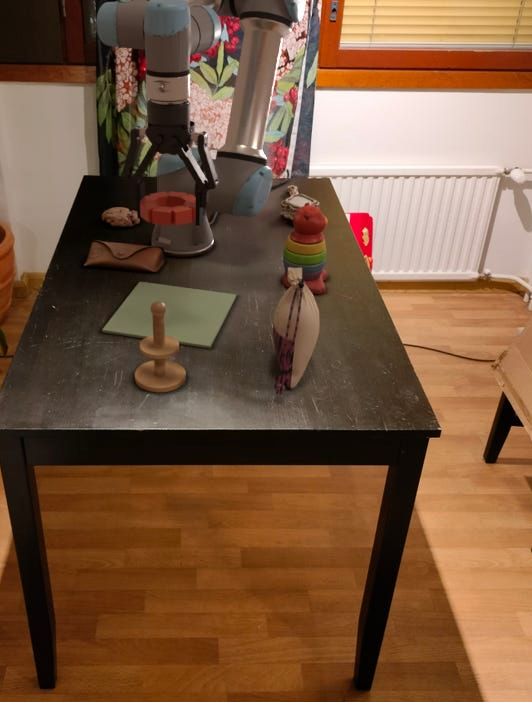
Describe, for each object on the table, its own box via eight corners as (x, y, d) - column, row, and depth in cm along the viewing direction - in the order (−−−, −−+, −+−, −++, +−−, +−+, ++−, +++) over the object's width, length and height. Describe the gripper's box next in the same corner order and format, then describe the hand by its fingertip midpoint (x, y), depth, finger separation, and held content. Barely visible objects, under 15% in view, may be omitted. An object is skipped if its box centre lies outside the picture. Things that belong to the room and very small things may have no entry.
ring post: (144, 361, 131) (141, 286, 123) (191, 368, 130) (191, 293, 121) (127, 387, 124) (123, 311, 116) (177, 396, 122) (175, 318, 114)
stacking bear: (325, 295, 154) (333, 217, 144) (278, 290, 156) (284, 213, 146) (328, 274, 163) (336, 199, 153) (284, 269, 165) (289, 195, 155)
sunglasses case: (81, 266, 164) (83, 237, 164) (90, 269, 171) (93, 241, 171) (157, 272, 161) (160, 243, 161) (163, 275, 168) (166, 247, 168)
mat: (139, 283, 158) (139, 281, 158) (236, 296, 153) (236, 294, 153) (102, 332, 140) (101, 329, 140) (210, 348, 135) (210, 346, 135)
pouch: (274, 328, 142) (281, 239, 132) (315, 331, 141) (325, 242, 131) (265, 401, 121) (272, 302, 111) (313, 406, 120) (325, 307, 110)
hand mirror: (312, 181, 209) (327, 209, 183) (306, 201, 212) (320, 231, 185) (277, 173, 208) (287, 200, 182) (272, 193, 211) (280, 222, 184)
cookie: (110, 212, 194) (109, 202, 192) (146, 217, 191) (146, 206, 189) (94, 225, 186) (93, 214, 184) (132, 231, 183) (131, 220, 181)
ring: (152, 201, 140) (151, 189, 139) (205, 207, 138) (205, 194, 137) (133, 221, 132) (132, 208, 130) (189, 228, 129) (189, 214, 128)
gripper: (97, 99, 123) (105, 220, 135) (228, 109, 118) (224, 233, 130) (113, 90, 129) (120, 206, 141) (238, 99, 124) (234, 219, 136)
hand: (170, 219), depth 135 cm, fingers closed on ring, 11 cm apart
